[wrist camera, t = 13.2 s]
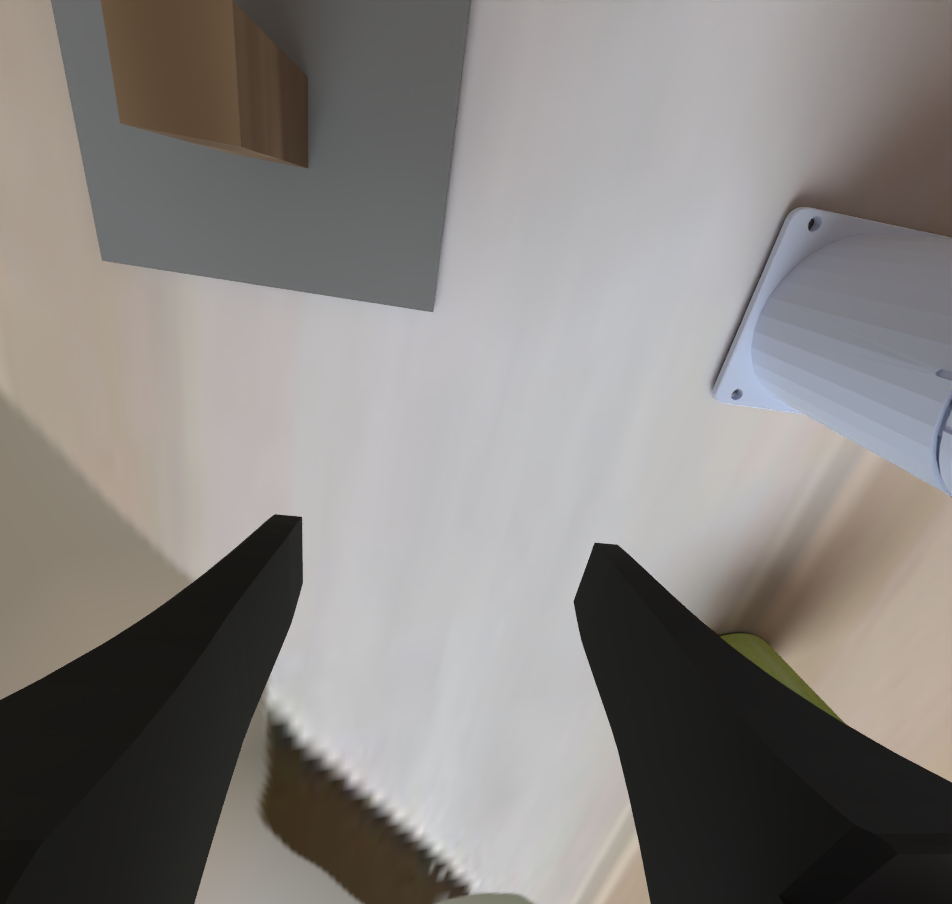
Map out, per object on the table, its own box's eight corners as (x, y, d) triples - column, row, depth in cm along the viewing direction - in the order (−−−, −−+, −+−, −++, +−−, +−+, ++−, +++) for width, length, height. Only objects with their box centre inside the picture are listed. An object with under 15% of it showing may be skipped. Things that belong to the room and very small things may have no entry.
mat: (484, -117, 13) (485, -126, 13) (433, 310, 18) (433, 312, 18) (11, -256, 11) (-3, -271, 11) (108, 259, 17) (102, 260, 16)
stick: (307, 77, 14) (232, 0, 9) (308, 168, 16) (241, 146, 10) (224, 58, 14) (95, -32, 9) (230, 153, 15) (120, 123, 10)
